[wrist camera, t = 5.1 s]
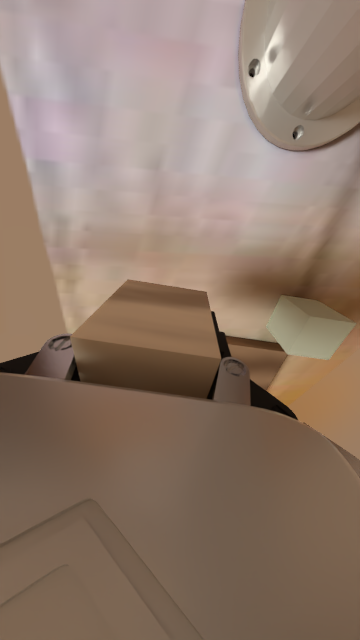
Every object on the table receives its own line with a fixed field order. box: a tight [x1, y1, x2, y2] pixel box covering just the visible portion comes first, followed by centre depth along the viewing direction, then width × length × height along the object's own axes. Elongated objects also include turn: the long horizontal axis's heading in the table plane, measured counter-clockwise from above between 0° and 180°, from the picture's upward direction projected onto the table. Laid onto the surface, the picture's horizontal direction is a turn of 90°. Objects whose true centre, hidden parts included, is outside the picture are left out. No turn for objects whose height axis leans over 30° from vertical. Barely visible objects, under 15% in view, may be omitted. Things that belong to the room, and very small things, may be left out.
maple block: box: [70, 280, 221, 399], centre depth 9 cm, size 5×5×6 cm
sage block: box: [266, 295, 357, 360], centre depth 21 cm, size 5×5×6 cm
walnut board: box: [225, 336, 288, 390], centre depth 29 cm, size 18×18×2 cm
